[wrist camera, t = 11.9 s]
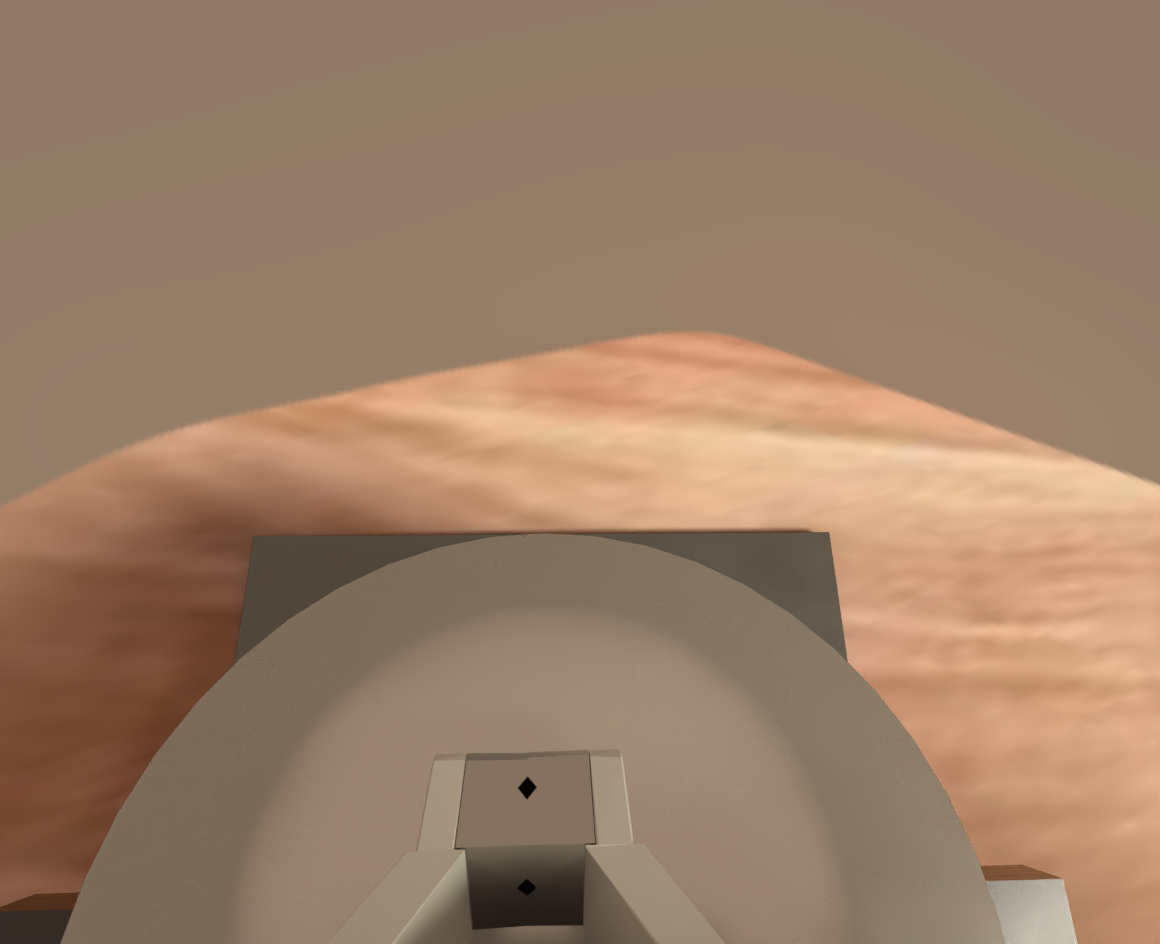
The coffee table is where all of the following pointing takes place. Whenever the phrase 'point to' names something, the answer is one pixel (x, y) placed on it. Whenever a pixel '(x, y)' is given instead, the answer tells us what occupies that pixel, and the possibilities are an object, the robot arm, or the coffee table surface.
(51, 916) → the steel pot
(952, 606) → the coffee table surface
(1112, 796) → the coffee table surface
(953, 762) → the coffee table surface
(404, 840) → the pot lid
